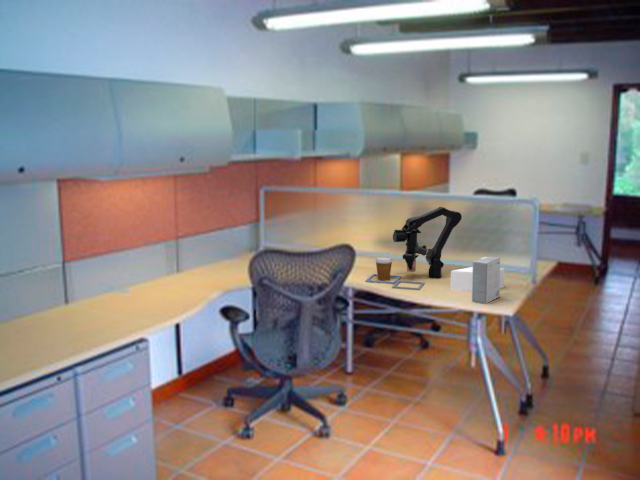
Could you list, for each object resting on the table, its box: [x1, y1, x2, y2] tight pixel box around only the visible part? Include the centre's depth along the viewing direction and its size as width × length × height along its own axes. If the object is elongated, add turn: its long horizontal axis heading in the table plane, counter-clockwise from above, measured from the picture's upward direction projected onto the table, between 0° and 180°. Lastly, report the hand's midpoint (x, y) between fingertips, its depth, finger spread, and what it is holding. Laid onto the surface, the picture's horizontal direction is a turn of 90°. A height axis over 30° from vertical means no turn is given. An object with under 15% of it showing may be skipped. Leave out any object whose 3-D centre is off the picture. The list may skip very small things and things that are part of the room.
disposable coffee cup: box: [374, 256, 393, 282], centre depth 349 cm, size 10×10×12 cm
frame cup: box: [364, 273, 403, 285], centre depth 350 cm, size 16×16×1 cm
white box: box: [450, 266, 506, 292], centre depth 328 cm, size 14×29×10 cm, turn 98°
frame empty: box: [391, 280, 426, 291], centre depth 336 cm, size 14×14×1 cm
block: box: [406, 259, 417, 273], centre depth 351 cm, size 4×4×6 cm
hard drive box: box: [471, 255, 501, 305], centre depth 306 cm, size 16×8×20 cm, turn 141°
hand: (411, 269), depth 351 cm, fingers closed on block, 4 cm apart
